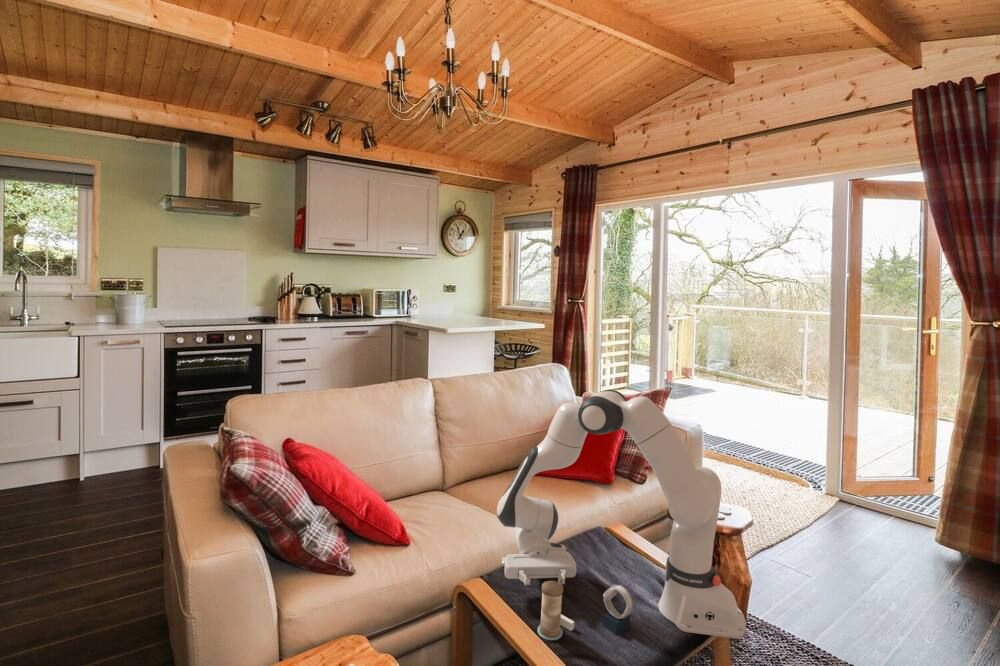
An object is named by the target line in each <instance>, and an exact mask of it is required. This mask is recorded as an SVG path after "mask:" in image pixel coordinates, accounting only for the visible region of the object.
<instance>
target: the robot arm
mask: <svg viewBox="0 0 1000 666" xmlns="http://www.w3.org/2000/svg"><path fill="white" fill-rule="evenodd" d="M620 429H621V430H624V431H626V432H627V433H628V434H629V435H630V437H631V439H632V441H634V443H635V444H636V447H638V449H639V451H640V452H641V454H642V455H643V457H644V459H645V460H646V461H647V463H648V464H649V465H650V467H651V469H652V470H653V472H654V474H655V475H654V476H655V477H656V478H657V481H658V484H659V486H660V489H661V490H662V493H663V495H664V497H665V500H666V501H667V502H666V503H667V506H668V507H667V508H668V512H669V514H670V517H671V518H672V520H673V522H672V528H671V532H670V540H669V541H670V542H669V552H668V557H667V558H666V561H665V571H664V572H665V573H664V574H665V575H664V576H665V582H664V588H663V591H662V594H661V597H660V599H659V602H658V605H657V608H658V609H659V612H660V613H661V614H662V615H663V617H665V619H667V620H668V621H670V622H672V623H673V624H675V626H676V627H677V628H678V629H679V630H681V632H685V633H692V634H697V635H698V634H699V635H706V636H712V637H715V636H716V637H722V638H732V639H742V638H743V636H745V634H746V629H747V627H746V626H747V622H746V618H745V615H744V613H743V612H742V610H741V609H740V608H739V607H738V603H737V601H736V597H735V596H734V593H732V591H731V590H730V589H729V588H727V587H726V586H725V585H724V584H723V583H722V581H721V580H722V579H721V577H720V576H719V574H720V573H719V570H718V568H717V565H712V564H713V553H714V552H713V551H714V544H715V537H716V530H717V525H718V520H719V512H720V506H721V497H722V483H721V480H720V477H719V476H718V474H716V472H715V471H713V470H712V469H711V468H708V467H705V466H704V467H703V466H698V467H695V464H694V462H693V460H692V458H691V455H690V451H689V448H688V446H687V444H686V443H685V442H684V440H683V439H682V437H681V436H680V434H679V433H678V432H677V430H676V429H675V427H674V426H673V425H672V423H671V422H670V421H669V418H667V416H666V414H665V413H664V412H663V411H662V410H661V409H660V407H658V406H657V405H656V404H655V403H654V401H652V400H651V399H650V398H649V397H648V396H642V395H640V396H635V397H632V398H631V399H629V400H628V399H627V398H626V396H625V395H624V394H623V393H621V392H620V391H618V390H614V389H613V390H612V389H606V390H605V389H604V390H603V391H600V392H596V393H594V394H592V395H590V397H587V398H585V400H584V401H583V402H582V403H581V404H580V403H576V402H572V401H571V402H565V403H562V404H561V405H560V406H559V408H558V409H557V410H556V412H555V414H554V416H553V418H552V420H551V422H550V424H549V427H548V429H547V430H548V431H547V433H546V435H545V437H544V439H543V440H542V441H540V443H539V444H538V445H537V446H533V447H531V448H530V449H529V451H528V452H527V453H526V454H525V456H524V458H523V460H522V461H521V462H520V465H519V467H518V469H517V471H515V474H514V476H513V478H512V479H511V481H510V483H509V485H508V487H507V488H506V490H505V492H504V493H503V494H502V495H501V497H500V499H499V501H498V504H497V507H496V517H497V519H498V521H499V522H500V523H501V525H503V527H509V528H515V532H514V533H515V534H514V535H515V536H514V537H515V543H516V546H517V547H516V548H517V549H518V553H509V554H506V555H504V556H501V559H500V561H501V564H503V566H504V577H505V578H507V579H508V580H513V579H514V580H515V579H517V580H520V581H521V582H523V583H524V586H531V579H550V578H552V579H553V578H554V579H555V578H557V582H558V583H560V584H561V585H565V583H566V582H565V581H566V578H575V576H576V574H577V563H576V561H575V559H574V558H573V556H572V554H571V553H570V552H569V551H567V550H566V546H565V544H562V543H555V542H551V541H549V540H551V538H552V537H553V536H554V534H555V532H556V530H557V527H558V524H559V513H558V510H557V507H556V505H555V504H554V502H553V501H550V500H546V499H542V498H539V497H534V496H533V497H532V496H528V495H523V494H524V492H525V491H526V488H527V487H528V485H529V483H530V482H531V479H532V478H533V476H535V475H537V474H539V473H540V472H545V471H551V470H560V469H564V468H568V467H569V466H572V465H573V464H574V463H575V462H576V461H577V460H578V458H579V457H580V454H581V451H582V449H583V446H584V443H585V440H586V438H587V435H588V433H589V434H591V435H605V434H609V433H612V432H617V431H619V430H620Z"/></svg>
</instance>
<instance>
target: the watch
mask: <svg viewBox="0 0 1000 666" xmlns="http://www.w3.org/2000/svg"><path fill="white" fill-rule="evenodd" d="M618 593H619V594H621V596H623V598H624V601H625V603H626V607H625V609H624V611H623V610H622V609H620V608H619V607H617V608H615V607H614V604H613V601H612V599H613V598H614V597H615V596H616V595H617V594H618ZM602 597H603V602H604V606H605V608H606V610H607V611H608V612H607V613H605V614H604V615H603V623H602V627H603V628H605V629H606V630H608V631H610V632H611V633H613V634H614V635H615V636H617V635H619V634H620V633H622V632H623V631H625V630H627V629H628V628H630V627H631V626H630V625H631V615H630V614H631V612H632V611H633V606H634V605H633V599H632V596H631V594H630V592H629V591H628V589H627V588H625V587H624V586H622V584H619V585H618V584H617V583H616V584H613V585H612V586H610V587H609V588H608V589H607V590H605V591H604V592H603V594H602Z"/></svg>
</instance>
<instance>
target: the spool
mask: <svg viewBox="0 0 1000 666" xmlns="http://www.w3.org/2000/svg"><path fill="white" fill-rule="evenodd" d="M563 593H564V586H563V584H560V583H558V581H556V580H548V581H547V580H546V581H544V582H543V583H542V584H541V610H540V623H539V626H540V628H539V631H540V633H541V634H542V635H544V636H546V637H551V638H552V637H557V636H558V635H559V634H560V632H561V628H562V627H561V625H560V619H561V614H562V604H563V603H562V599H563Z"/></svg>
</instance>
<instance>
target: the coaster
mask: <svg viewBox="0 0 1000 666" xmlns="http://www.w3.org/2000/svg"><path fill="white" fill-rule="evenodd" d="M539 628H540V625H538V627H537V634H538V635H539V637H541V638H542V639H544V640H546V641H558V640H559V639H561V638H562V637H563V634H564V633H563V629H562V627H561V632H560V634H559V635H558V636H557V637H552V638H551V637H546V636H544V635H542V634H541V633H540V631H539Z"/></svg>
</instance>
